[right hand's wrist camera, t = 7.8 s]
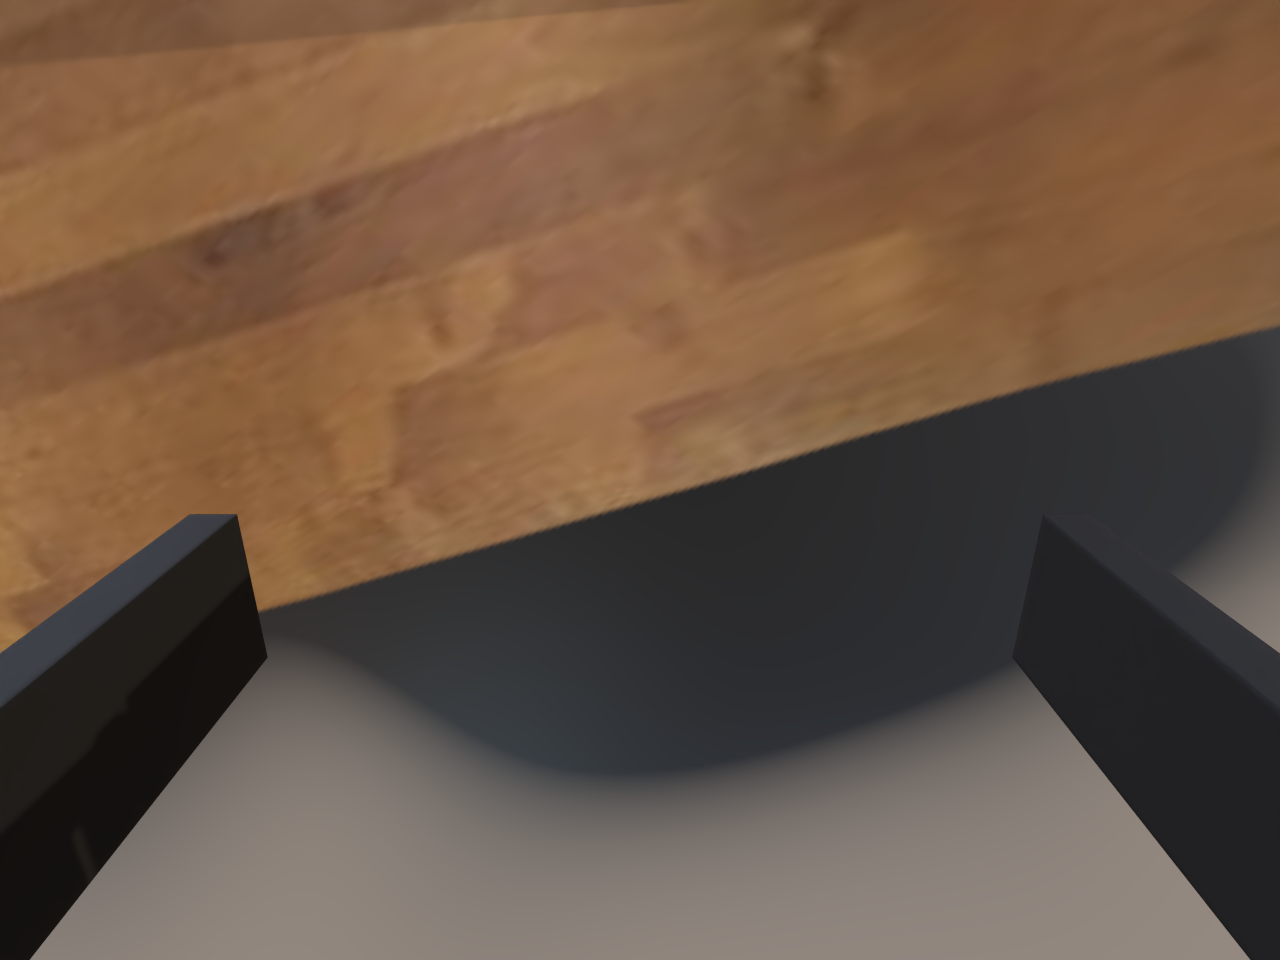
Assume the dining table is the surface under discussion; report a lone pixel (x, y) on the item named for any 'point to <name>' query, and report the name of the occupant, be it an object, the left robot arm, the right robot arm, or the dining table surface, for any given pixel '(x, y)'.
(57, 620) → the right robot arm
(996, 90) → the dining table surface
